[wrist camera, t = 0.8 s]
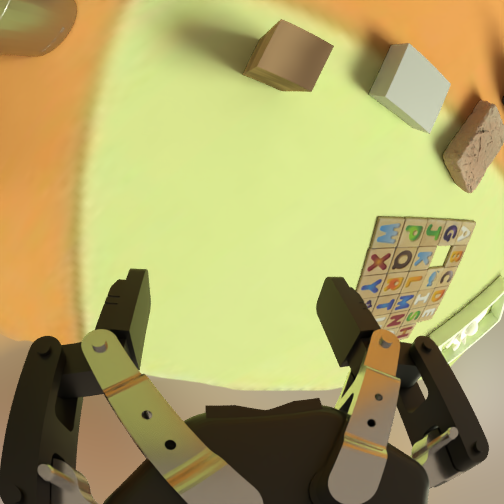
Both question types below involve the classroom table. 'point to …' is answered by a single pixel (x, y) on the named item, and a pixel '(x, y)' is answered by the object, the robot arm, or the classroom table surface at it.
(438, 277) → the alphabet tiles
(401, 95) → the foundation slab
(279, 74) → the walnut block
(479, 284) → the classroom table surface
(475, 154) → the brick
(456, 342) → the plane toy
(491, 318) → the toy tray rim
